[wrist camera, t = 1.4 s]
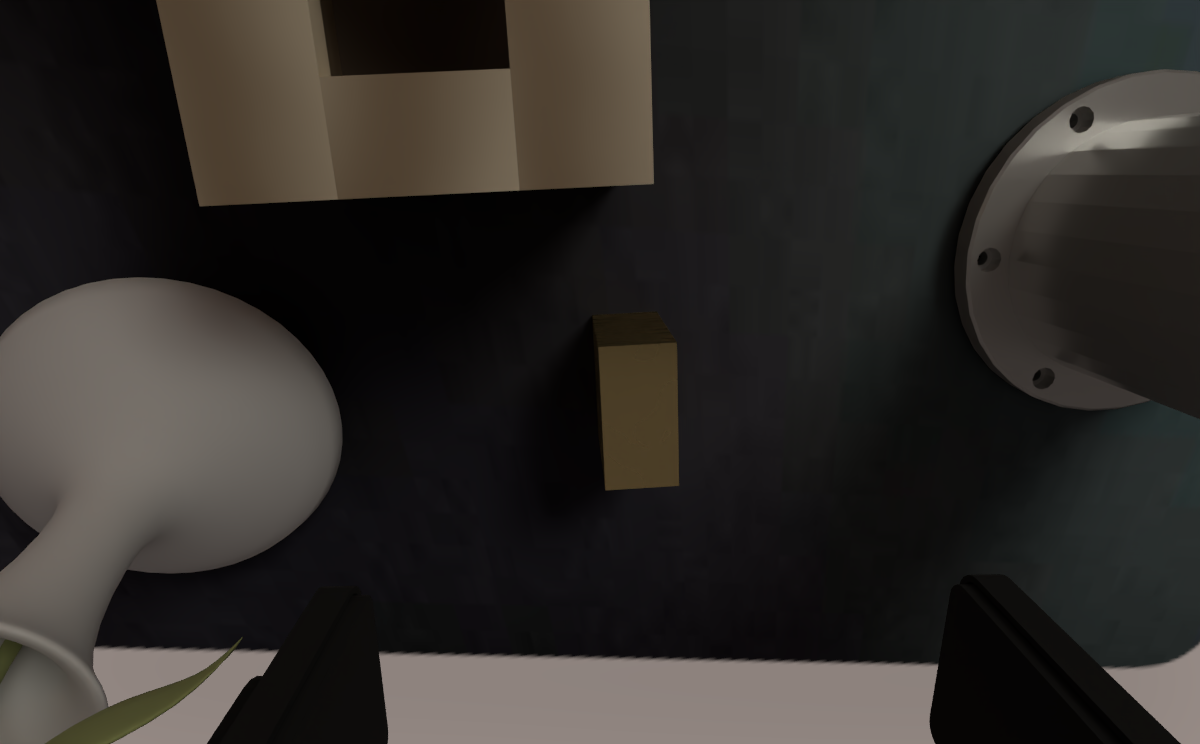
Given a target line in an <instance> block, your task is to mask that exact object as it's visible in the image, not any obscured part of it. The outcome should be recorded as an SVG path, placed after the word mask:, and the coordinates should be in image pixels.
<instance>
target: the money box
mask: <svg viewBox="0 0 1200 744" xmlns="http://www.w3.org/2000/svg"><path fill="white" fill-rule="evenodd" d="M156 2H157V6H158V11H159V16H160V21H161V25H162V30H163V35H164V40H165V44H166V49H167V54H168V59H169V63H170V68H171V73H172V78H173V83H174V87H175V92H176V97H177V102H178V106H179V111H180V116H181V121H182V125H183V130H184V135H185V140H186V144H187V149H188V154H189V159H190V164H191V168H192V173H193V178H194V183H195V187H196V192H197V197H198V202H199V206H217V205H237V204H257V203H278V202H298V201H318V200H338V199H358V198H378V197H398V196H419V195H439V194H459V193H479V192H499V191H519V190H539V189H560V188H580V187H600V186H620V185H640V184H654V174H653V131H652V88H651V45H650V2H649V0H156Z"/></svg>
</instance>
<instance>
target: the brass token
mask: <svg viewBox="0 0 1200 744" xmlns="http://www.w3.org/2000/svg"><path fill="white" fill-rule="evenodd" d="M592 319H593V339H594V358H595V378H596V397H597V417H598V436H599V444H600V452H601V460H602V468H603V475H604V483H605V490H619V489H635V488H650V487H665V486H679V455H678V388H677V342H676V341H675V339H674V338H673V336H672V334H671V333H670V331H669V330H668V328H667V327H666V325H665V324H664V322H663V321H662V319H661V318H660V316H659V315H658V313H657V312H642V313H624V314H606V315H592Z"/></svg>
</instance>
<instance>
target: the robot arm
mask: <svg viewBox="0 0 1200 744" xmlns="http://www.w3.org/2000/svg"><path fill="white" fill-rule="evenodd" d="M979 255H981V257H980V260H979V261H978V262H977V260H978V258H979ZM954 277H955V298H956V302H957V306H958V310H959V314H960V318H961V322H962V325H963V327H964V329H965V331H966V334H967V336H968V338H969V340H970V342H971V344H972V346H973V348H974V350H975V351H976V352H977V353H978V355H979V356H980V357H981V358H982V359H983V361H984V362H985V363H986V364H987V366H988V367H989V368H990V369H991V370H992V371H993V372H994V373H996V374H997V375H998V376H999V377H1001V378H1002V379H1003V380H1005V381H1006V382H1007V383H1008V384H1010V385H1011V386H1013V387H1015V388H1017V389H1019V390H1021V391H1023V392H1025V393H1027V394H1029V395H1030V396H1032V397H1034V398H1037V399H1040V400H1042V401H1045V402H1048V403H1051V404H1054V405H1057V406H1060V407H1065V408H1073V409H1081V410H1088V411H1091V410H1107V409H1119V408H1124V407H1128V406H1132V405H1136V404H1140V403H1144V402H1148V401H1151V400H1152V401H1155V402H1157V403H1160V404H1163V405H1165V406H1168V407H1170V408H1173V409H1175V410H1178V411H1181V412H1183V413H1186V414H1188V415H1191V416H1193V417H1196V418H1199V419H1200V72H1197V71H1183V70H1167V69H1162V70H1155V71H1148V72H1140V73H1133V74H1127V75H1123V76H1119V77H1115V78H1111V79H1107V80H1103V81H1099V82H1095V83H1093V84H1091V85H1089V86H1087V87H1084V88H1082V89H1080V90H1078V91H1076V92H1074V93H1071V94H1069V95H1067V96H1065V97H1063V98H1061V99H1060V100H1059V101H1057V102H1056V103H1054V104H1053V105H1051V106H1050V107H1048V108H1047V109H1045V110H1044V111H1042V112H1041V113H1040V114H1038V115H1037V116H1035V117H1034V118H1033V119H1032V120H1031V121H1030V122H1029V123H1027V124H1026V125H1025V126H1024V127H1023V128H1022V129H1021V130H1020V131H1019V132H1018V133H1017V134H1016V135H1015V136H1014V137H1013V138H1012V139H1011V140H1010V141H1009V142H1008V143H1007V144H1006V145H1005V147H1004V148H1003V149H1002V151H1001V152H1000V153H999V155H998V156H997V157H996V159H995V160H994V161H993V163H992V164H991V165H990V167H989V168H988V169H987V170H986V172H985V174H984V176H983V178H982V180H981V181H980V183H979V185H978V187H977V189H976V191H975V193H974V195H973V197H972V198H971V200H970V202H969V205H968V208H967V211H966V214H965V217H964V220H963V223H962V226H961V229H960V232H959V236H958V243H957V250H956V256H955V263H954ZM930 729H931V734H932V737H933V739H934V742H935V744H1180V743H1179V742H1178V741H1177V740H1176V739H1175V738H1174V737H1173V736H1172V735H1171V734H1170V733H1169V732H1168V731H1167V730H1166V729H1165V728H1164V727H1163V726H1162V725H1161V724H1160V723H1159V722H1158V721H1156V720H1155V718H1154V717H1153V716H1152V715H1150V714H1149V713H1148V712H1147V711H1146V710H1145V709H1144V708H1143V707H1142V706H1141V705H1140V704H1139V703H1138V702H1137V701H1136V700H1135V699H1134V698H1133V697H1132V696H1131V695H1130V694H1129V693H1127V691H1126V690H1124V688H1122V686H1120V685H1119V684H1118V683H1117V682H1116V681H1115V680H1114V679H1113V678H1112V677H1111V676H1110V675H1109V674H1108V673H1107V672H1106V671H1105V670H1104V669H1103V668H1102V667H1101V666H1100V665H1099V664H1098V663H1097V662H1096V661H1095V660H1094V659H1093V658H1091V657H1090V656H1089V655H1088V654H1087V653H1086V652H1085V651H1084V650H1083V649H1082V648H1081V647H1080V646H1079V645H1078V644H1077V643H1076V642H1075V641H1074V640H1073V639H1072V638H1071V637H1070V636H1069V635H1068V634H1067V633H1066V632H1065V631H1064V630H1063V629H1061V628H1060V627H1059V626H1058V625H1057V624H1056V623H1055V622H1054V621H1053V620H1052V619H1051V618H1050V617H1049V616H1048V615H1047V614H1046V613H1045V612H1044V611H1043V610H1042V609H1041V608H1040V607H1039V606H1038V605H1037V604H1036V603H1035V602H1034V601H1033V600H1031V599H1030V598H1029V597H1028V596H1027V595H1026V594H1025V593H1024V592H1023V591H1022V590H1021V589H1020V588H1019V587H1018V586H1017V585H1016V584H1015V583H1014V582H1013V581H1012V580H1011V579H1010V578H1008V577H1007V576H1005V575H1001V574H997V575H967V576H964V577H963V579H962V580H961V582H960V584H957V585H954V586H953V588H952V589H951V593H950V598H949V604H948V610H947V616H946V622H945V628H944V634H943V640H942V646H941V652H940V658H939V664H938V670H937V677H936V683H935V689H934V695H933V701H932V707H931V713H930ZM387 743H388V725H387V717H386V709H385V701H384V693H383V684H382V676H381V667H380V659H379V651H378V643H377V634H376V626H375V618H374V610H373V602H372V599H371V596H369V595H361V591H360V589H359V588H358V587H357V586H335V587H321V588H319V589H318V590H317V591H316V593H315V594H314V596H313V597H312V599H311V601H310V602H309V604H308V605H307V607H306V609H305V610H304V612H303V613H302V615H301V616H300V618H299V620H298V621H297V623H296V624H295V626H294V627H293V629H292V631H291V632H290V634H289V635H288V637H287V638H286V640H285V642H284V643H283V645H282V646H281V648H280V650H279V651H278V653H277V654H276V656H275V657H274V659H273V661H272V662H271V664H270V665H269V667H268V669H267V670H266V672H265V673H264V675H263V676H256V677H255V678H253V679H251V680H250V681H249V682H248V683H247V685H246V686H245V687H244V688H243V690H242V691H241V693H240V694H239V696H238V697H237V699H236V700H235V702H234V704H233V705H232V707H231V708H230V709H229V711H228V712H227V714H226V715H225V717H224V719H223V720H222V722H221V723H220V725H219V726H218V728H217V729H216V731H215V732H214V734H213V735H212V737H211V739H210V740H209V741H208V743H207V744H387Z"/></svg>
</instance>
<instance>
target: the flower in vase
mask: <svg viewBox="0 0 1200 744" xmlns="http://www.w3.org/2000/svg"><path fill="white" fill-rule="evenodd" d="M341 450H342V423H341V417H340V412H339V407H338V404H337V401H336V398H335V395H334V392H333V389H332V387H331V385H330V383H329V381H328V379H327V378H326V376H325V374H324V372H323V370H322V369H321V367H320V366H319V364H318V363H317V362H316V360H315V359H314V357H313V356H312V354H311V353H310V352H309V351H308V350H307V349H306V348H305V347H304V346H303V345H302V343H301V342H300V341H299V340H298V339H297V338H296V337H295V336H294V335H292V334H291V333H290V332H289V331H288V330H287V329H285V328H284V327H283V326H282V325H281V324H280V323H278V322H277V321H275V320H274V319H272V318H271V317H269V316H268V315H266V314H265V313H263V312H262V311H260V310H259V309H257V308H255V307H253V306H251V305H249V304H247V303H245V302H243V301H242V300H240V299H238V298H235V297H233V296H230V295H227V294H225V293H222V292H220V291H217V290H215V289H211V288H207V287H204V286H200V285H196V284H193V283H189V282H182V281H176V280H170V279H163V278H141V277H135V278H120V279H109V280H104V281H99V282H93V283H88V284H84V285H81V286H78V287H75V288H72V289H69V290H66V291H63V292H61V293H59V294H56V295H54V296H52V297H50V298H48V299H46V300H44V301H42V302H40V303H39V304H37V305H36V306H34V307H33V308H31V309H30V310H28V311H27V312H25V313H24V314H22V315H21V316H20V317H19V318H18V319H17V320H16V321H15V322H14V323H13V324H11V325H10V326H9V327H8V328H7V329H6V330H5V331H4V333H3V334H2V335H1V337H0V496H1V498H2V499H3V500H4V501H5V502H6V504H7V505H8V506H9V507H10V508H11V509H12V510H13V511H14V512H15V513H16V514H17V515H18V516H19V517H20V518H21V519H22V520H23V521H24V522H26V523H27V524H28V525H29V526H31V527H32V528H33V529H35V530H36V531H37V532H39V533H40V534H39V535H38V536H37V537H36V538H35V539H34V540H33V541H32V542H31V543H30V544H29V545H28V546H27V548H26V549H25V550H24V551H23V552H22V553H21V554H20V555H19V556H18V557H17V558H16V559H15V560H14V561H12V562H11V563H10V564H9V565H8V566H7V567H5V568H4V569H3V570H2V571H1V572H0V744H111V743H113V742H115V741H117V740H119V739H120V738H122V737H124V736H126V735H127V734H129V733H131V732H133V731H135V730H136V729H138V728H140V727H142V726H144V725H145V724H147V723H149V722H150V721H152V720H154V719H155V718H157V717H158V716H160V715H161V714H163V713H164V712H166V711H167V710H169V709H170V708H172V707H173V706H175V705H176V704H177V703H179V702H180V701H181V700H182V699H184V698H185V697H186V696H187V695H189V694H190V693H191V692H192V691H194V690H195V689H196V688H197V687H198V686H199V685H200V684H202V683H203V682H204V681H205V679H207V678H208V677H209V676H210V675H211V674H212V673H213V672H214V671H215V670H216V669H217V668H218V667H219V665H220V664H221V663H222V662H223V661H224V660H225V659H226V658H228V656H229V655H230V654H231V653H232V652H233V651H234V650H235V648H236V647H237V645H238V644H239V643H240V641H241V640H242V638H243V637H242V638H241V639H240V640H239V641H238V642H237V643H236V644H235V645H234V646H233V647H232V648H231V649H230V650H229V651H227V652H226V653H225V654H224V655H223V656H222V657H220V658H219V659H218V660H217V661H216V662H214V663H213V664H211V665H210V666H209V667H207V668H206V669H204V670H203V671H201V672H199V673H197V674H195V675H193V676H191V677H189V678H186V679H184V680H181V681H179V682H176V683H173V684H170V685H167V686H164V687H161V688H158V689H155V690H152V691H149V692H146V693H143V694H140V695H138V696H135V697H132V698H129V699H127V700H124V701H122V702H120V703H117V704H115V705H113V706H110V707H108V703H107V698H106V695H105V693H104V690H103V688H102V685H101V684H100V682H99V680H98V679H97V677H96V675H95V673H94V670H93V650H94V646H95V643H96V639H97V635H98V631H99V627H100V624H101V621H102V619H103V617H104V614H105V612H106V609H107V607H108V605H109V602H110V600H111V597H112V595H113V594H114V592H115V590H116V588H117V586H118V585H119V583H120V581H121V579H122V577H123V575H124V574H125V572H126V570H135V571H142V572H149V573H190V572H198V571H205V570H212V569H216V568H220V567H224V566H228V565H232V564H235V563H238V562H240V561H243V560H246V559H248V558H251V557H253V556H255V555H257V554H259V553H261V552H263V551H265V550H267V549H269V548H270V547H272V546H273V545H275V544H276V543H278V542H279V541H281V540H282V539H284V538H285V537H286V536H288V535H289V534H290V533H291V532H293V531H294V530H295V529H296V528H297V527H299V526H300V525H301V524H302V523H303V522H304V521H306V520H307V519H308V517H309V516H310V515H311V514H312V513H313V512H314V511H315V510H316V508H317V507H318V506H319V505H320V503H321V502H322V500H323V499H324V497H325V496H326V494H327V493H328V491H329V489H330V487H331V484H332V482H333V480H334V478H335V476H336V472H337V469H338V466H339V462H340V458H341Z"/></svg>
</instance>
